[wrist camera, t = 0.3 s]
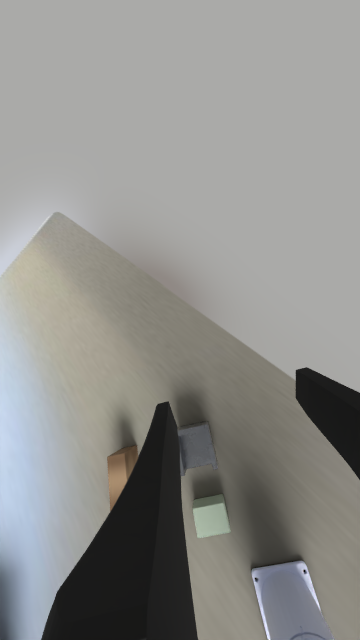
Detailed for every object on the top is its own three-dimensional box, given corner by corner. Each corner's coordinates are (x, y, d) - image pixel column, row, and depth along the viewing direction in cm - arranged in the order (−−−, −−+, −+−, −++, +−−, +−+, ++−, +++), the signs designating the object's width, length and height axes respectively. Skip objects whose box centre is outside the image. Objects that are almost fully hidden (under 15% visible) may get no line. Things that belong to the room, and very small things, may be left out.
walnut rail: (147, 540, 33) (134, 570, 27) (130, 544, 33) (114, 573, 28) (137, 444, 38) (124, 453, 33) (122, 448, 38) (107, 457, 33)
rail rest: (228, 520, 32) (230, 532, 29) (199, 526, 32) (197, 538, 30) (222, 493, 34) (223, 502, 31) (194, 499, 34) (192, 508, 31)
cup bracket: (216, 457, 35) (217, 468, 30) (184, 463, 36) (180, 476, 30) (208, 420, 38) (207, 424, 32) (178, 426, 38) (172, 431, 33)
